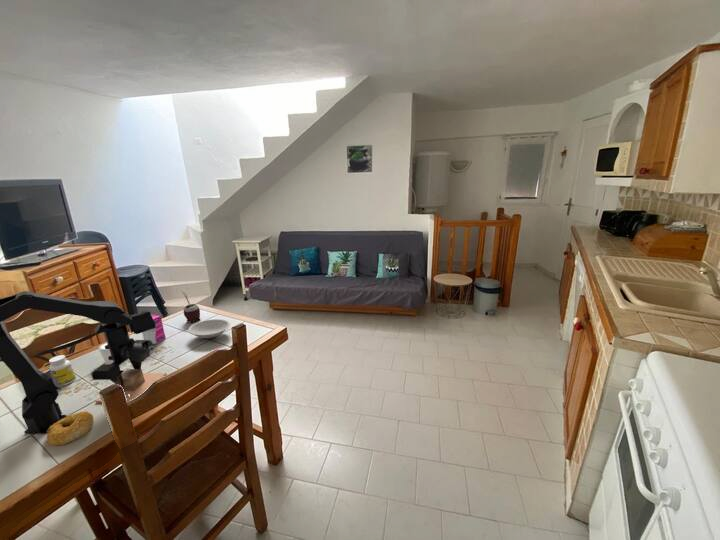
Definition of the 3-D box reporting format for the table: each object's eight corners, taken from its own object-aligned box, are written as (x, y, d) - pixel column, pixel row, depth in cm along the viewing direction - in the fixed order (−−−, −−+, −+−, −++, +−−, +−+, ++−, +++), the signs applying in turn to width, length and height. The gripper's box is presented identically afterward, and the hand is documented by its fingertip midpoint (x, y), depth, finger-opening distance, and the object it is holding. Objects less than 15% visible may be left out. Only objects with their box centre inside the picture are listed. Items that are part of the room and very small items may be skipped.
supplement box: (155, 345, 128) (148, 321, 125) (144, 343, 130) (137, 320, 126) (166, 338, 134) (160, 315, 130) (156, 336, 135) (150, 314, 131)
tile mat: (138, 403, 96) (137, 401, 96) (96, 402, 96) (95, 400, 96) (166, 374, 109) (165, 373, 109) (129, 374, 110) (128, 372, 109)
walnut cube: (134, 391, 100) (130, 378, 99) (119, 391, 100) (115, 378, 99) (145, 381, 105) (141, 369, 103) (131, 381, 105) (127, 369, 103)
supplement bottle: (51, 388, 103) (41, 364, 100) (61, 378, 108) (52, 355, 105) (70, 385, 105) (61, 361, 102) (79, 375, 110) (71, 352, 107)
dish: (237, 329, 141) (235, 319, 139) (221, 345, 127) (219, 335, 126) (202, 327, 142) (200, 318, 141) (182, 344, 129) (180, 334, 127)
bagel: (84, 413, 92) (79, 401, 91) (102, 426, 88) (97, 413, 86) (41, 438, 84) (34, 425, 82) (58, 454, 79) (52, 440, 78)
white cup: (113, 366, 115) (108, 350, 113) (98, 364, 116) (93, 348, 114) (129, 355, 121) (125, 340, 119) (115, 354, 122) (111, 339, 120)
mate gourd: (198, 323, 147) (192, 295, 142) (181, 324, 146) (174, 296, 141) (203, 316, 154) (198, 289, 149) (187, 317, 153) (181, 290, 148)
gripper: (119, 356, 88) (133, 399, 93) (161, 325, 105) (170, 363, 110) (82, 356, 88) (98, 399, 93) (130, 325, 106) (141, 362, 111)
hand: (130, 379), depth 102 cm, fingers open, 7 cm apart
